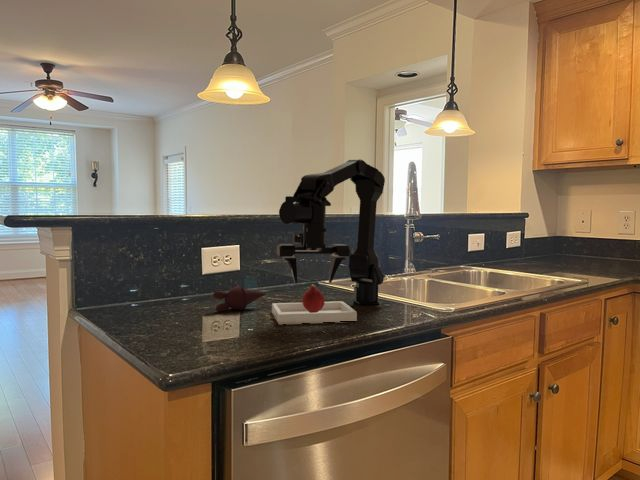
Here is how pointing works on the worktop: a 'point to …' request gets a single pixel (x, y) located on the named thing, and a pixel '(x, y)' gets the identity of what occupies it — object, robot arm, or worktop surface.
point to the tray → (300, 314)
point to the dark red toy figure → (236, 298)
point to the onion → (313, 300)
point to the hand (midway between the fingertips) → (313, 283)
